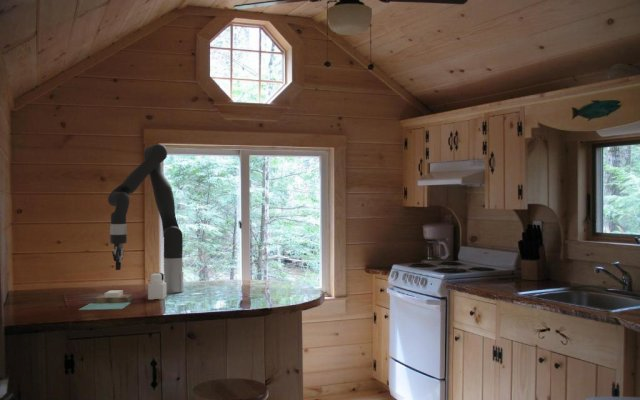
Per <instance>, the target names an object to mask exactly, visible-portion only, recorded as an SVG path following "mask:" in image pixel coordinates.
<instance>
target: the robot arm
mask: <svg viewBox="0 0 640 400" xmlns="http://www.w3.org/2000/svg"><path fill="white" fill-rule="evenodd" d="M167 157H168V149H167V148H166V146H165V145H163V144H160V143H157V144H152V145H149V146H147V147H146V148H145V149H144V151H143V158H144V160H143V162H142V163H141V164H139V166H137V167H136V168H134V170H133V171H132V172H130V173H129V175H128V176H127V177H126V178H125V179H123V180H124V181H123V182H122V183H120V184H119V185H118V186H117V187H115V189H113V190H112V191H111V192H110V193H109V194H108V197H107V201H108V204H109V205H110V206H112V207H115V209H114V211H113V212H111V214H110V228H109V231H110V233H109V234H110V235H109V244H111V245H114V246H113V248H112V258H113V262H114V263H115V270H116V271H120V270H122V261H123V259H124V255H125V248H124V247H123V245H125V244H127V239H128V238H127V237H128V236H127V234H128V231H127V230H128V229H127V228H128V227H127V214H128V211H129V206H130V197H129V195H131V194H133V193H134V192H136V191H137V189H138V188H139V187H140V185H141V184H142V183H143V182H144V180H146V178H147V177H148V175H149V178H150V182H151V187H152V190H153V191H152V192H153V196H154V200H155V205H156V207H157V211H158V212H159V217H160V218H161V219H160V220H161V226H162V236H163V237H162V238H163V274H164V282H166V294H169V293H170V294H172V293H174V294H175V293H182V292H184V291H185V290H184V271H183V253H184V252H183V250H184V249H183V242H184V240H183V232H182V230H181V228H180V226H179V223H178V220H177V217H176V205H175V197H174V194H173V189H172V186H171V184H170V182H169V181H168V179H167V178H166V177H165V174H164V173H163V170H162V165H161V164H162V162H164V161H165V159H166V158H167Z"/></svg>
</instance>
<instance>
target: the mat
mask: <svg viewBox="0 0 640 400" xmlns="http://www.w3.org/2000/svg"><path fill="white" fill-rule="evenodd" d="M131 303H132V301H130V302H128V303H94V302H93V303H92V302H91V303H88V304H87V305H85V306H82V307H81V308H79V309H78V311H96V310H97V311H100V310H123V309H124V308H126V307H127V306H129V305H130V304H131Z"/></svg>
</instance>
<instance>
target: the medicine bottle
mask: <svg viewBox="0 0 640 400" xmlns="http://www.w3.org/2000/svg"><path fill="white" fill-rule="evenodd" d="M165 298H168V297H167V293H166V282H164V273H163V272H154V273H153V272H152V273H151V274H150V283H148V284H147V300H151V301H152V300H154V299H159V300H164V299H165Z"/></svg>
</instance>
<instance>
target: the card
mask: <svg viewBox="0 0 640 400" xmlns="http://www.w3.org/2000/svg"><path fill="white" fill-rule="evenodd" d="M123 294H124V290H123V289H122V290H121V289H119V290H115V289H114V290H113V289H112V290H111V289H110V290H108V291H107V292H104V295H105V298H114V297H120V296H121V295H123Z"/></svg>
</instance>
